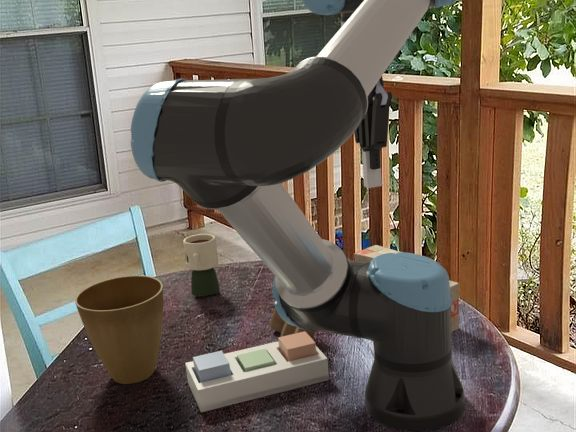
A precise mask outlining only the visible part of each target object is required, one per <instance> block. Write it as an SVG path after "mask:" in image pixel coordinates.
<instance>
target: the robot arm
mask: <svg viewBox="0 0 576 432" xmlns="http://www.w3.org/2000/svg"><path fill="white" fill-rule="evenodd" d="M456 1H457V0H301V2H302V3H303V6H305V8H307V10H309V11H310V12H311V13H314V14H316V15H319V16H320V15H321V16H326V17H327V16H335V15H337V14H340V17H341V18H340V20H341V21H340V28H339V29H338V30H337V32H336V33H335V34H334V35H333V36H332V38H330V40H329V41H328V42H327V43H326V44H325V46H324V47H323V48H322V49H321V50H320V52H319V53H318V54H317V55H316V56H312V57H308V58H306V59H303V60H301V61H300V62H299V63H298V64H297V65H296V66H294V68H292V70H291V71H290V72H288V73H284V74H282V75H277V76H271V77H263V78H229V79H226V78H225V79H198V80H197V79H194V80H193V79H191V80H189V79H187V78H184V77H183V78H177V79H174V80H168V81H166V80H165V81H160V82H157V83H155V84H153V85H152V86H150V87H149V88H147V90H145V92H144V93H143V94H142V96H140V99H138V102H137V103H136V105H135V106H136V107H135V108H134V112H133V114H132V115H133V116H132V118H131V123H130V137H131V138H130V147H131V148H130V149H131V152H132V157H133V160H134V162H135V164H136V166H137V168H138V169H139V170H140V172H141V173H142V174H143V175H144V176H146V177H147V178H149V179H151V180H155V181H157V182H161V183H163V182H167V181H170V182H173V183H175V184H177V185H178V187H179V188H180V189H181V190H182V191H183V192H185V194H186V195H187V197H189V198H190V199H191V201H193V203H194V204H196V205H197V206H199V207H200V208H203V209H206V210H213V211H214V210H215V211H218V212H219V213H220V215H221V216H222V217H223V218H224V219H225V220H226V221H227V223H228V224H229V225H230V226H231V227H232V229H234V231H236V233H237V234H238V235H239V236H240V237H241V239H242V240H244V242H245V243H246V244H247V245H248V247H249V248H250V249H251V250H252V251H253V253H254V254H255V255H257V257H258V258H259V259H260V260H261V262H262V263H264V265H265V266H266V267H267V268H268V270H269V271H271V272H272V274H273V275H274V278H273V283H272V298H273V299H275V301H274V303H273V304H274V307H275V308H276V310H277V312H278V314H279V316H280V317H281V318H282V319H283V320H284V321H285V322H286V323H288V324H290V325H292V326H296V327H298V328H300V329H304V330H316V331H318V332H323V333H329V334H334V335H335V334H336V335H341V336H347V337H352V338H358V339H364V340H368V341H373V354H374V355H373V357H374V358H373V362H372V364H371V365H372V367H371V369H370V372H369V376H368V379H367V382H366V386H365V388H364V390H365V391H364V397H365V399H364V400H365V401H364V402H365V403H364V404H365V408H366V411H367V412H368V414H369V416H370V417H371V418H373V419H374V420H375V421H376V422H378V423H379V424H382V425H385V426H387V427H390V428H392V429H397V430H403V431H409V432H411V431H412V432H414V431H415V432H422V431H430V430H436V429H440V428H443V427H445V426H448V425H451V424H452V423H453V422H455V421H456V420H458V419H459V418H460V417H461V416H462V415H463V412H464V410H465V405H466V403H465V390H464V387H463V384H462V382H461V378H460V376H459V374H458V371H457V368H456V366H455V363H454V360H453V354H452V350H453V349H452V348H453V347H452V332H451V304H452V297H451V292H450V282H449V280H450V277H449V274H448V272H447V270H446V269H445V268H444V267H443V266H442V264H440V263H439V262H438V261H436V260H435V259H432V258H430V257H428V256H424V255H421V254H418V253H412V252H404V251H400V252H398V253H397V254H394V253H386V254H381V255H379V256H376V257H375V258H374V259H373V260H372V261H371V263H367V262H359V261H355V260H352V259H349V258H348V257H347V255H346V254H345V253H344V251H343V250H342V249H341V247H340V246H338V245H337V244H336V243H334V242H333V241H331V240H327V239H323V238H322V237H321V236H320V235H319V234H318V232H317V231H316V229H315V228H314V227H313V225H312V224H311V222H310V221H309V220H308V217H307V216H306V215H305V213H304V212H303V211H302V209H301V208H300V207H299V205H298V204H297V203H296V201H295V200H294V198H293V197H292V196H291V194H290V193H289V192H288V190H287V189H286V188H285V186H284V184H283V183H285V182H288V181H290V180H293V179H296V178H298V177H299V176H301V175H303V174H306V173H307V172H308V171H311V170H313V168H315V167H316V166H319V165H320V164H322V163H323V162H324V161H325V160H327V159H328V158H329V157H330V156H332V155H333V154H334V153H335V152H337V151H338V150H339V148H341V147H342V146H343V145H344V144H346V142H347V141H348V140H349V139H350V138H351V137H352V135H353V134H354V135H353V136H354V140H355V141H354V142H355V143H356V144H359V147H360V149H361V155H362V156H361V157H362V172H363V173H362V174H363V187H364V188H366V189H372V188H378V187H382V186H383V182H382V181H383V179H382V162H381V161H382V160H381V150H382V149H383V148H387V147H388V137H389V135H388V134H389V122H390V121H389V120H390V107H391V102H392V98H393V94H392V91H385V89H384V85H385V83H384V79H383V75H384V73H385V72H386V71H387V70H389V69H390V65H391V64H392V61H394V60H395V58H396V56H397V55H398V53H399V52H400V51H401V49H402V47H403V46H404V45H405V43H406V41H407V40H408V38H409V37H410V35H411V34H412V33H413V31H414V30H415V28H416V27H417V26H418V24H419V23H420V21H421V20H422V19H423V17H424V16H425V14H426V13H427V11H428V10H429V9H430V8H438V9H439V8H440V7H445V6H451V5H453V4H454V3H455V2H456ZM275 308H274V309H275Z"/></svg>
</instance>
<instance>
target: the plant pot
mask: <svg viewBox="0 0 576 432" xmlns="http://www.w3.org/2000/svg"><path fill="white" fill-rule="evenodd" d="M74 303H75V306H76V309H77V311H78V314H79V317H80V319H81V323H82V324H83V325H82V326H83V327H84V329H85V332H86V334H87V336H88V339H89V340H90V341H89V342H91V345H92V347H93V349H94V351H95V352H96V355H97V356H98V358H99V360H100V361H101V363H102V365H103V366H104V368H105V370H106V371H107V372H108V374H109V375H110V377H111V378H112V379H113V381H114V382H116V383H118V384H122V385H130V384H131V385H132V384H136V383H140V382H143V381H145V380H147V379H148V378H150V377H151V376H152V375H153V374H154V372H155V369H156V365H157V361H158V356H159V353H160V352H159V351H160V346H161V337H162V330H163V319H164V317H163V316H164V314H163V313H164V286H163V282H162V281H161V280H159V279H158V278H156V277H153V276H148V275H141V274H140V275H139V274H137V275H136V274H135V275H134V274H133V275H125V276H117V277H113V278H108V279H104V280H102V281H99V282H95V283H93V284H91V285H90V286H87V287H85V288H84V289H82V290H81V291H80V292H79V293H78V294H76V297H75V299H74Z"/></svg>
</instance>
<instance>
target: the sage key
mask: <svg viewBox="0 0 576 432" xmlns="http://www.w3.org/2000/svg"><path fill="white" fill-rule="evenodd" d="M237 359H238V364H239V365H240V367H241V369H242V370H243V372H247V371H252V370H256V369H260V368H264V367H268V366H272V365H274V360H273V359H272V358H271V356H270V355H269V353H268V352H267V351H266V349H261V350H257V351H253V352H249V353H244V354H240V355H237Z"/></svg>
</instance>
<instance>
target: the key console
mask: <svg viewBox="0 0 576 432" xmlns="http://www.w3.org/2000/svg"><path fill="white" fill-rule="evenodd" d="M261 349H266V351H267V352H268V353H269V355H270V356H271V358H272V359H273V360H274V365H272V366H268V367H264V368H260V369H256V370H252V371H247V372H243V370H242V369H241V367H240V365H239V364H238V359H237V355H240V354H244V353H249V352H253V351H257V350H261ZM224 355H225V357H226V358H227V360H228V362H229V364H230V372H231V376H227V377H223V378H218V379H214V380H210V381H206V382H202V383H199V382H198V380H197V378H196V376H195V370H194V363H193V360H192V361H188V362H185V370H186V371H185V372H186V376H187V384H188V387H189V389H190V392H191V393H192V396H193V398H194V400H195V403H196V405H197V406H198V408H199V411H200V413H203V412H208V411H213V410H216V409H220V408H223V407H228V406H231V405H232V404H233V405H236V404H239V403H243V402H247V401H252V400H255V399H260V398H264V397H267V396H271V395H276V394H280V393H283V392H288V391H291V390H296V389H299V388H303V387H307V386H311V385H315V384H318V383H323V382H327V381H329V380H330V374H329V362H328V357H327V356H326V354H324V352H322V350H321V349H319V347H318V346H317V345H316V355H313V356H309V357H305V358H301V359H297V360H293V361H289V362H287V361H286V360H285V359H284V357H283V356H282V355H281V353H280V352H279V343H278V341H273V342H269V343H265V344H261V345H256V346H253V347H248V348H244V349H239V350H235V351H230V352H227V353H224Z"/></svg>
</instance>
